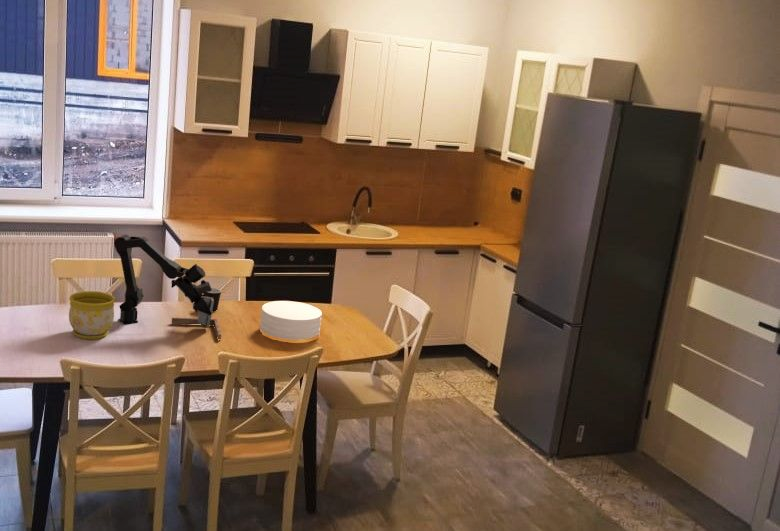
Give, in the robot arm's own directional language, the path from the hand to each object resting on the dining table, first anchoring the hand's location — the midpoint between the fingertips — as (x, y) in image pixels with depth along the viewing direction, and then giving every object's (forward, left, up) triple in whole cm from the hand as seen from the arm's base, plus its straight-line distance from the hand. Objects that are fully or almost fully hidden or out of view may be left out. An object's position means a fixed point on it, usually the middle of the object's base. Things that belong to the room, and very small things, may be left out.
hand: (210, 312), depth 360 cm
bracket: (-3, +1, -6) cm, 7 cm away
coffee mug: (+19, +24, -8) cm, 32 cm away
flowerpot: (-48, +16, -8) cm, 52 cm away
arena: (-7, 0, -8) cm, 11 cm away
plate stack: (+32, -19, -9) cm, 38 cm away
